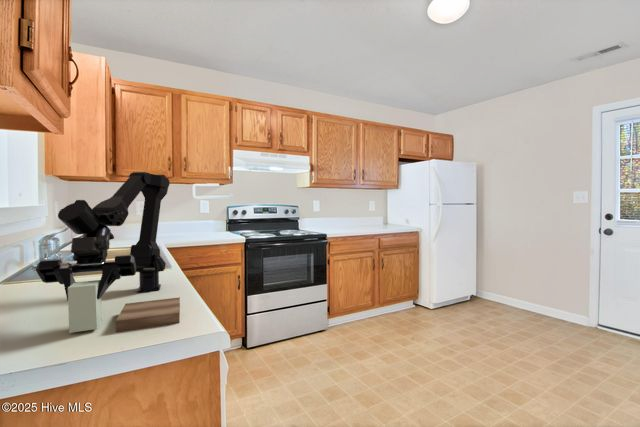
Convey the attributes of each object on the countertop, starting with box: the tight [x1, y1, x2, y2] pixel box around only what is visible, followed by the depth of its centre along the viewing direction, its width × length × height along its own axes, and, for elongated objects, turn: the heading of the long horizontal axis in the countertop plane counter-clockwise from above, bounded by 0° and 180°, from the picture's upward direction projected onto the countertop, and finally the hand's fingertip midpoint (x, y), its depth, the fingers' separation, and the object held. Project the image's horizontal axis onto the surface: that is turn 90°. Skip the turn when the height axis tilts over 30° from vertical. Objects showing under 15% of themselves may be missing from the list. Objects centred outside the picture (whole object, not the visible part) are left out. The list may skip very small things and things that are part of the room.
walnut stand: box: [115, 296, 181, 333], centre depth 78 cm, size 13×13×2 cm
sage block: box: [67, 279, 103, 334], centre depth 71 cm, size 5×5×10 cm
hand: (83, 299), depth 69 cm, fingers closed on sage block, 5 cm apart
